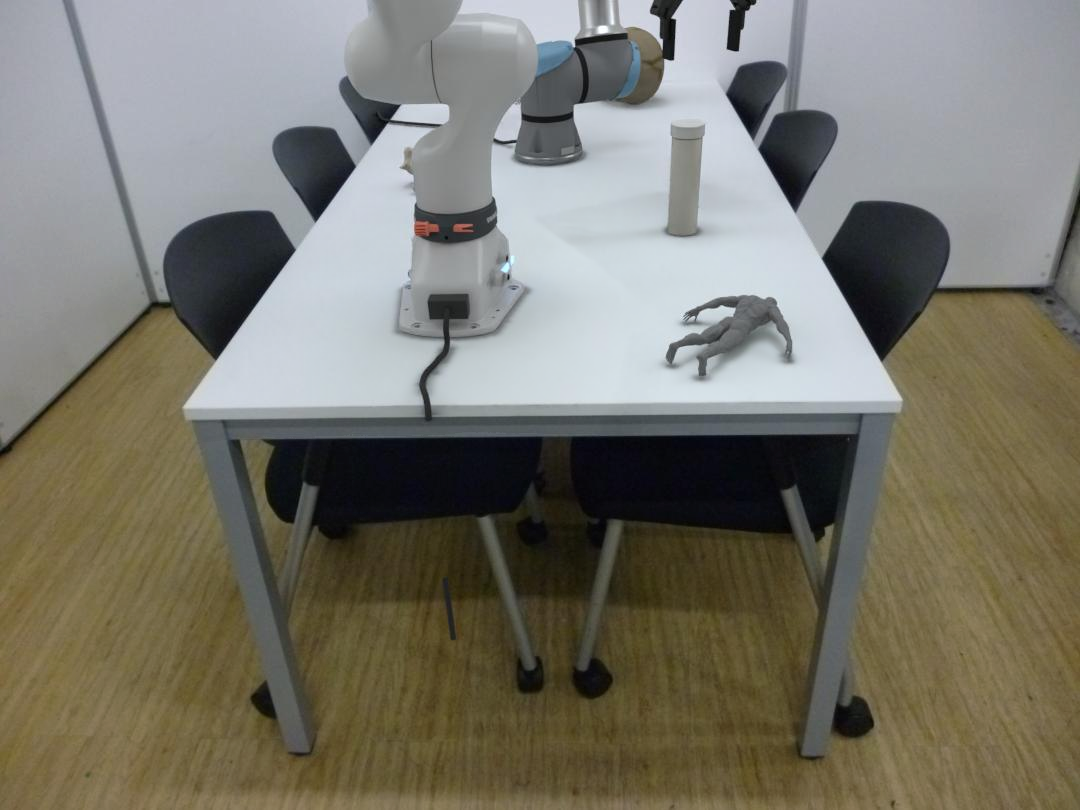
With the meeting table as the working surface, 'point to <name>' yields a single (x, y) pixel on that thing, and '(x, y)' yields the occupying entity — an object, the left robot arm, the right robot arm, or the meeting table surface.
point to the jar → (684, 186)
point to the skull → (645, 66)
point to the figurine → (732, 326)
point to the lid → (687, 128)
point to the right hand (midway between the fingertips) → (700, 55)
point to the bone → (408, 161)
